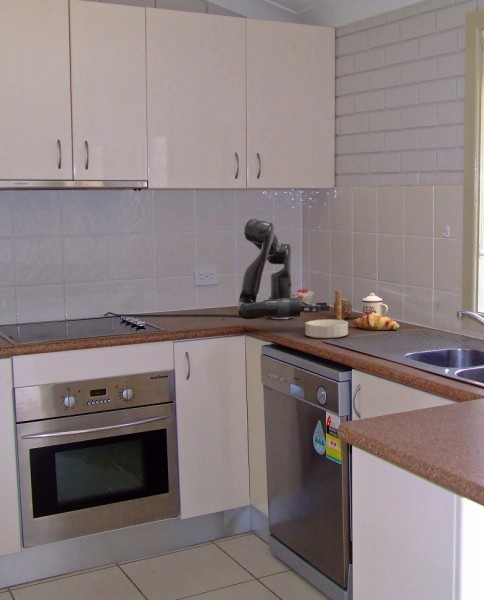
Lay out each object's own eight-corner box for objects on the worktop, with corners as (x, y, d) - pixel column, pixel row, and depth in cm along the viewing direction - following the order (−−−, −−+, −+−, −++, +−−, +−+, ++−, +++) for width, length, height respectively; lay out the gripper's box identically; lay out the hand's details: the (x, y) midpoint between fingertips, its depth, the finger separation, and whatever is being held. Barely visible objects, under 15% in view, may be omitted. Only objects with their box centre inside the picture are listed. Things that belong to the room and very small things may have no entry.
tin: (333, 315, 381) (333, 297, 380) (339, 315, 382) (339, 296, 381) (346, 320, 367) (346, 301, 366) (353, 319, 369) (353, 300, 368)
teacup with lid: (358, 320, 366) (358, 293, 365) (367, 317, 374) (367, 291, 373) (383, 322, 361) (383, 295, 359) (392, 319, 369) (392, 293, 367)
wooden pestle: (331, 329, 341) (330, 290, 339) (335, 328, 345) (335, 289, 343) (340, 330, 339) (340, 291, 337) (345, 329, 343) (345, 290, 341)
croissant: (401, 337, 341) (405, 319, 344) (393, 329, 333) (397, 310, 335) (354, 333, 350) (359, 315, 353) (345, 325, 342) (349, 306, 344)
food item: (303, 311, 394) (303, 290, 392) (288, 310, 397) (288, 290, 395) (316, 308, 406) (316, 287, 405) (301, 307, 409) (301, 287, 408)
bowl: (297, 337, 323) (297, 324, 322) (317, 331, 338) (316, 318, 337) (337, 340, 316) (337, 327, 316) (354, 333, 332) (354, 321, 331)
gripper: (289, 300, 330) (330, 299, 332) (286, 296, 343) (325, 295, 346) (289, 319, 330) (330, 318, 333) (286, 314, 344) (326, 313, 347)
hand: (328, 306), depth 340 cm, fingers open, 8 cm apart
